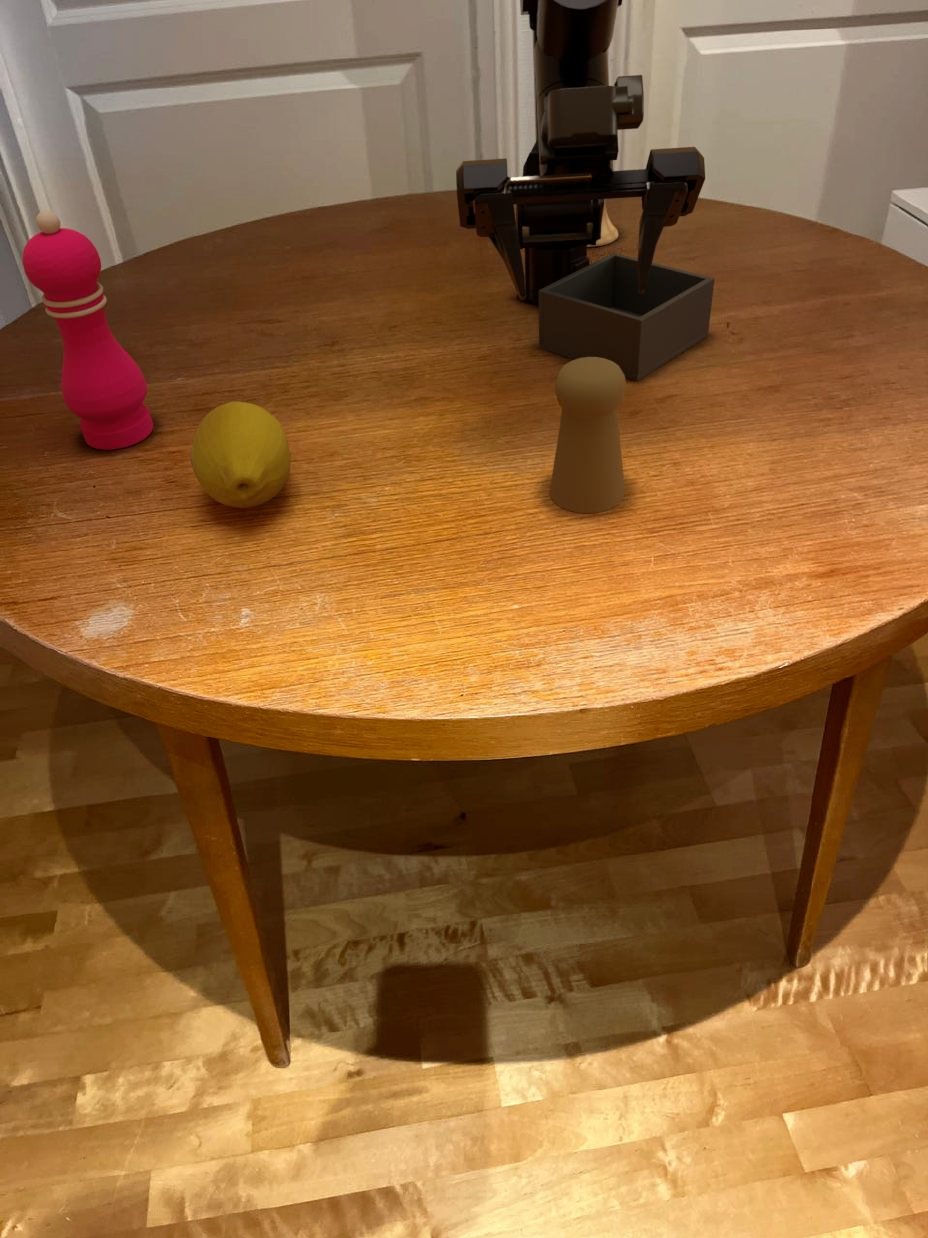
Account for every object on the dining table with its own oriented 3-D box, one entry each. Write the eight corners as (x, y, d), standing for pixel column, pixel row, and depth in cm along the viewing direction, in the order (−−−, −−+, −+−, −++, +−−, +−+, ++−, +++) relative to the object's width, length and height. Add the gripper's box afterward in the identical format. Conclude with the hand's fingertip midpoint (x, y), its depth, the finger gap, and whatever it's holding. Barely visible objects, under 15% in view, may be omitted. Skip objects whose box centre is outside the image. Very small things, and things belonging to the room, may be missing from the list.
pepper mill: (87, 461, 85) (3, 233, 71) (73, 427, 90) (-9, 208, 76) (167, 438, 87) (99, 213, 74) (149, 406, 92) (82, 190, 79)
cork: (631, 476, 77) (640, 350, 70) (616, 518, 73) (623, 388, 66) (560, 467, 79) (561, 343, 72) (540, 507, 75) (539, 379, 68)
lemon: (215, 467, 82) (192, 383, 77) (304, 461, 82) (287, 377, 77) (191, 541, 74) (164, 452, 69) (290, 534, 74) (271, 445, 69)
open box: (538, 347, 97) (538, 290, 93) (611, 307, 103) (613, 252, 99) (637, 381, 90) (641, 320, 86) (708, 336, 96) (714, 277, 92)
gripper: (448, 39, 67) (456, 253, 66) (715, 21, 66) (728, 238, 65) (456, 132, 78) (463, 316, 77) (685, 117, 77) (696, 304, 76)
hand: (582, 294), depth 73 cm, fingers open, 9 cm apart
